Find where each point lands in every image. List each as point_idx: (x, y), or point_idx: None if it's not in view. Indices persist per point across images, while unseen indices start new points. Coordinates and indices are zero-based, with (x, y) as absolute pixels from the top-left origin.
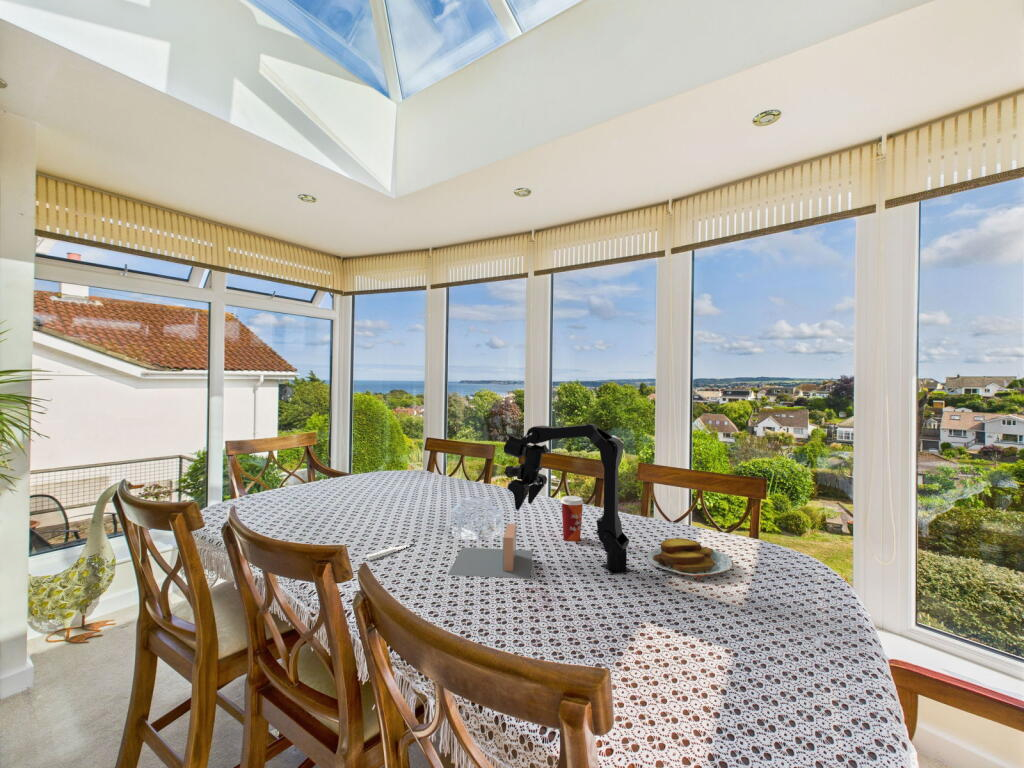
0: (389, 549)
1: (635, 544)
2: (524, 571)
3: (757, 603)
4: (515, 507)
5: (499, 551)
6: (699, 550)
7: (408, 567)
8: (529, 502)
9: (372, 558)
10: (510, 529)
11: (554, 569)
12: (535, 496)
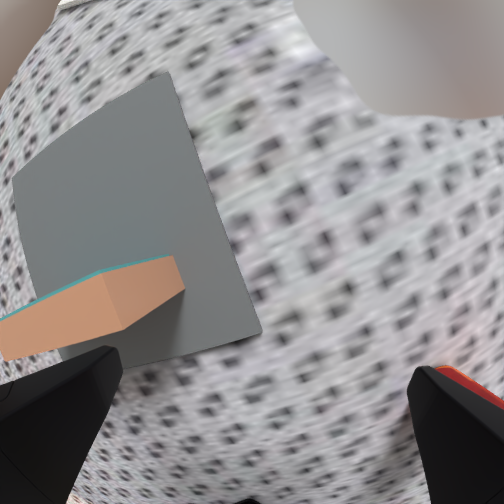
0: None
1: (415, 495)
2: None
3: None
4: (90, 351)
5: (187, 209)
6: None
7: (39, 74)
8: (415, 386)
9: (61, 8)
10: (46, 325)
11: (163, 422)
12: (429, 480)
